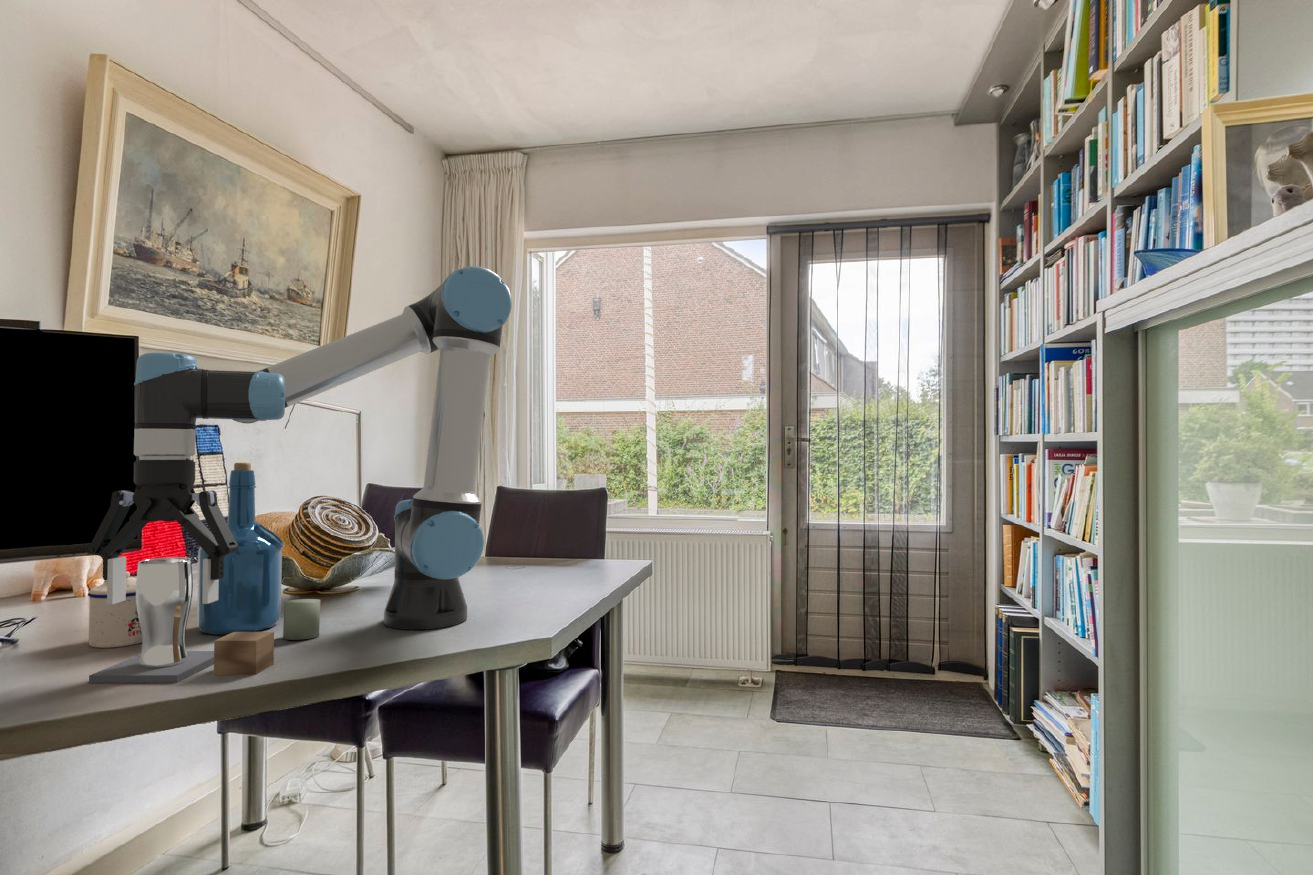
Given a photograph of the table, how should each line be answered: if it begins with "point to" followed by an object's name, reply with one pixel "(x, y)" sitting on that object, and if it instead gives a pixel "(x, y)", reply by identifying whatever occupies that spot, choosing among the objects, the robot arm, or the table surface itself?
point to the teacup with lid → (114, 618)
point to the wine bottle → (244, 568)
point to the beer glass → (163, 610)
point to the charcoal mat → (153, 670)
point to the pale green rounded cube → (301, 619)
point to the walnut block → (243, 653)
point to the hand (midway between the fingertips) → (163, 602)
